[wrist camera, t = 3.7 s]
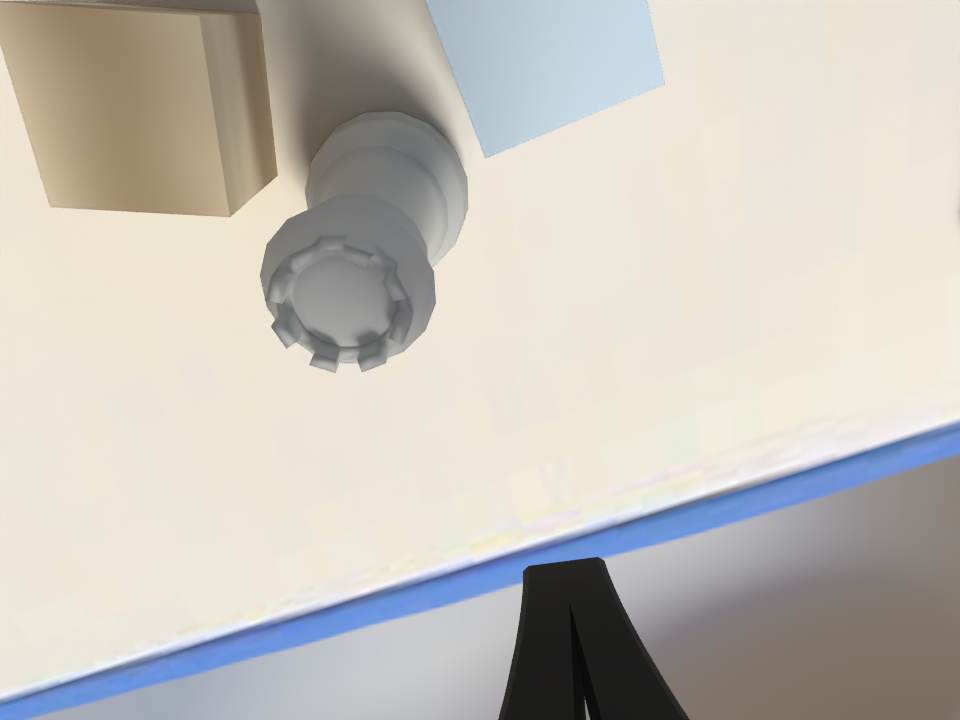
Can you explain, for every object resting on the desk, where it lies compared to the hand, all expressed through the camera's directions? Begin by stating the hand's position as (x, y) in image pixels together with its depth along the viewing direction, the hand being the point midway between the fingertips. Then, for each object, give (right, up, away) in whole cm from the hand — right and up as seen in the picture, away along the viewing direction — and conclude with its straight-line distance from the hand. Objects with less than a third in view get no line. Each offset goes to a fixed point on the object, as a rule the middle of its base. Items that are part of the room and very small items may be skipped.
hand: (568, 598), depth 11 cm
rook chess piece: (-4, +9, +7) cm, 12 cm away
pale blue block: (0, +13, +5) cm, 14 cm away
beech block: (-9, +11, +5) cm, 16 cm away
